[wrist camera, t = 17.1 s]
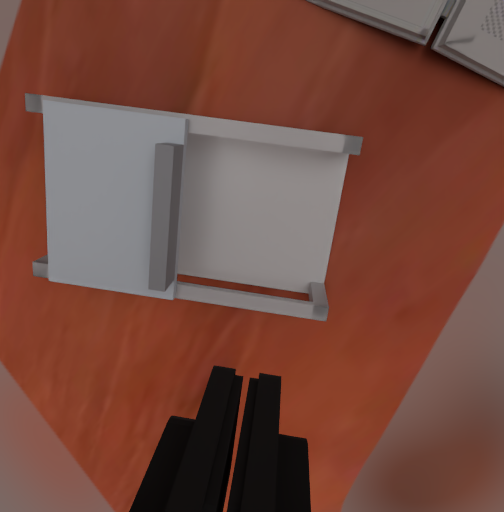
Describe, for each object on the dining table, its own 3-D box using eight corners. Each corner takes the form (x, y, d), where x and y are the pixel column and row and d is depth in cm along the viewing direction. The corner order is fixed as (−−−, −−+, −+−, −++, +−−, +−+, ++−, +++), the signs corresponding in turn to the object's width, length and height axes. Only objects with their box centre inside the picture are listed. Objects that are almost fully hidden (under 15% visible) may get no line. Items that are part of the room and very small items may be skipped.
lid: (49, 100, 29) (20, 97, 26) (188, 119, 28) (175, 117, 25) (54, 277, 33) (30, 292, 30) (175, 296, 32) (163, 313, 29)
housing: (69, 99, 35) (24, 93, 29) (351, 135, 33) (363, 137, 28) (71, 254, 39) (33, 275, 33) (321, 292, 38) (326, 321, 32)
